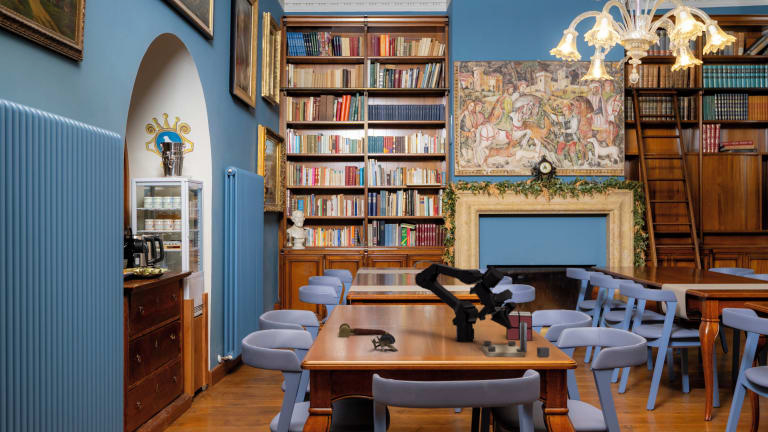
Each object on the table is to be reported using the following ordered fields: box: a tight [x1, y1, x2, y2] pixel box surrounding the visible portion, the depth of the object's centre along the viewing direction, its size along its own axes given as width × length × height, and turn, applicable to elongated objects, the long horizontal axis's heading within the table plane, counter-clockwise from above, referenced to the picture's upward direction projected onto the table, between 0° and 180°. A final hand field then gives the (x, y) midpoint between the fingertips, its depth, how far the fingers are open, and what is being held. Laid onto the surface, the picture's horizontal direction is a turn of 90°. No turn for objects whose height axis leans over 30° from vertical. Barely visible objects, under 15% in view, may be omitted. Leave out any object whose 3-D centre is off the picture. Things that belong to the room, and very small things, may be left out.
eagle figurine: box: [370, 333, 399, 353], centre depth 202 cm, size 8×7×9 cm
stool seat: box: [480, 321, 527, 358], centre depth 199 cm, size 14×13×12 cm
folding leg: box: [519, 323, 528, 352], centre depth 198 cm, size 7×2×10 cm, turn 164°
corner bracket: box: [536, 346, 550, 358], centre depth 193 cm, size 2×4×3 cm, turn 104°
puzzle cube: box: [505, 311, 533, 342], centre depth 225 cm, size 10×10×10 cm
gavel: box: [338, 322, 390, 339], centre depth 231 cm, size 21×5×10 cm
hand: (510, 328), depth 204 cm, fingers closed
